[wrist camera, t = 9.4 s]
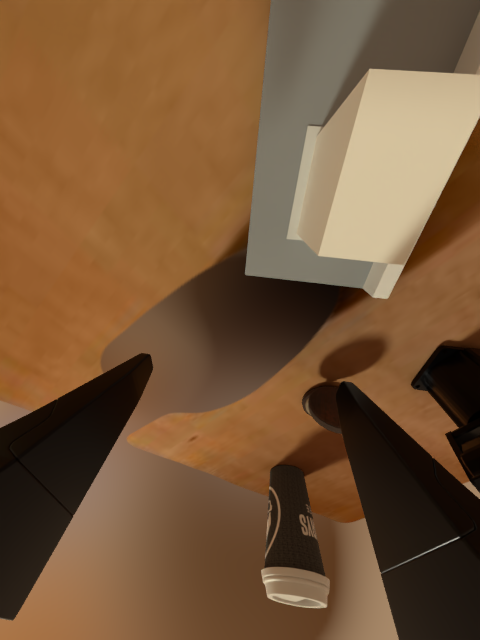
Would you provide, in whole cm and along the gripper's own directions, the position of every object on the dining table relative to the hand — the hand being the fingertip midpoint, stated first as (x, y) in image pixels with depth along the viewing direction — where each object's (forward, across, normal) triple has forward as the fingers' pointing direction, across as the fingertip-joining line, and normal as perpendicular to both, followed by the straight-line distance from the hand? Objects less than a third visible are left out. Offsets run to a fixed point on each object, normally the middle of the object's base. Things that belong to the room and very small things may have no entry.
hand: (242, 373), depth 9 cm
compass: (+13, -13, +15) cm, 24 cm away
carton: (+11, -5, -8) cm, 15 cm away
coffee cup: (+13, -11, +39) cm, 43 cm away
